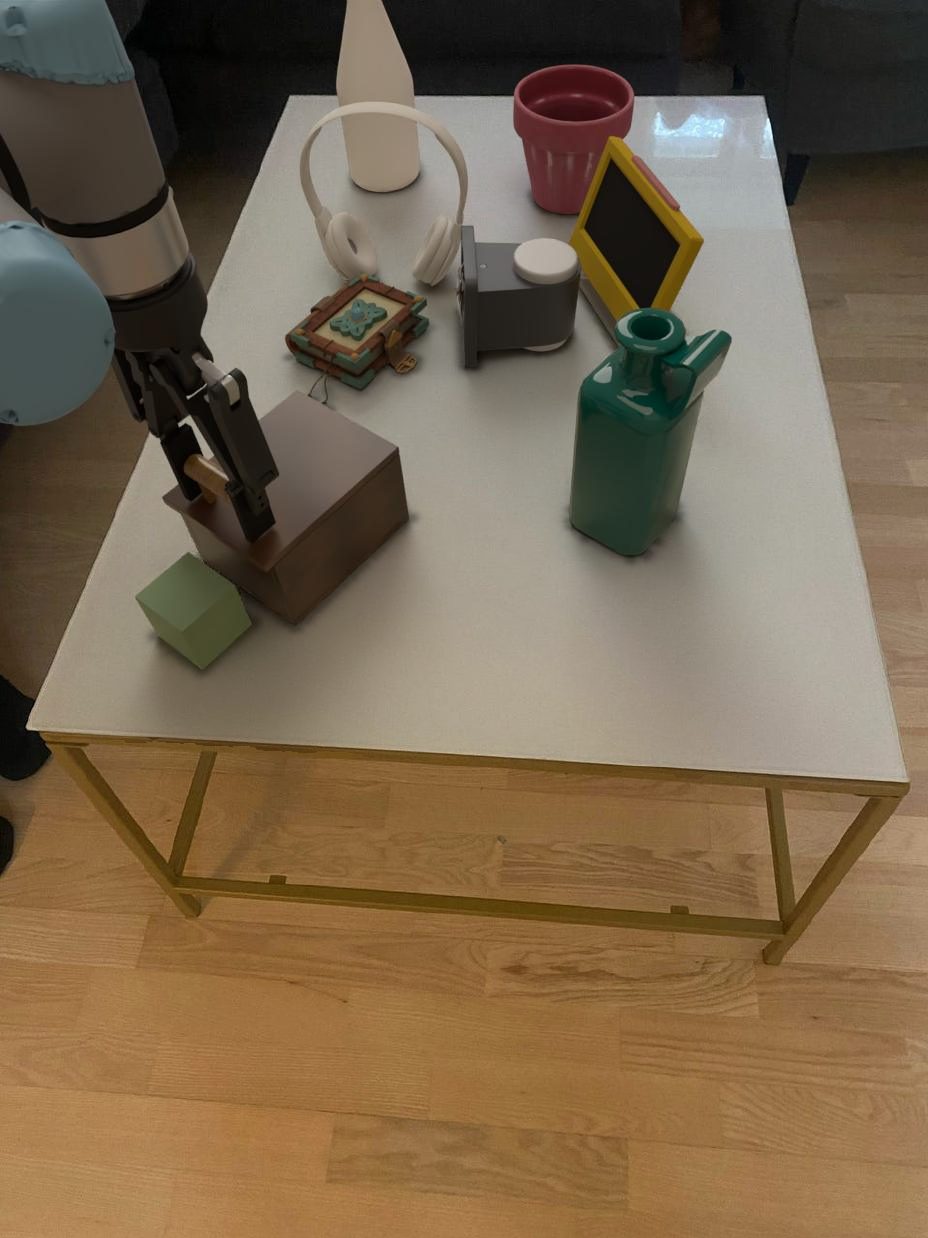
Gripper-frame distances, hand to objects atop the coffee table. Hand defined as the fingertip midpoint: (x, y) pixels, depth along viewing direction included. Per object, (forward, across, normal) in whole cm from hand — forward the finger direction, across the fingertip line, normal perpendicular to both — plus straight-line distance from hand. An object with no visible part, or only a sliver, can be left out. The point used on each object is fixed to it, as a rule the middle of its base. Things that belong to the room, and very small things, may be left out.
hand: (229, 509), depth 75 cm
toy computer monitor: (+10, -7, -52) cm, 54 cm away
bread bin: (+10, 0, -6) cm, 12 cm away
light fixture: (+10, +2, -42) cm, 43 cm away
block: (+10, 0, +7) cm, 12 cm away
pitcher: (+10, -23, -26) cm, 37 cm away
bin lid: (+1, 0, -6) cm, 6 cm away
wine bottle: (+10, +36, -58) cm, 69 cm away
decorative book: (+10, +14, -28) cm, 33 cm away
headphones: (+10, +20, -42) cm, 48 cm away
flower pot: (+10, +13, -68) cm, 70 cm away
